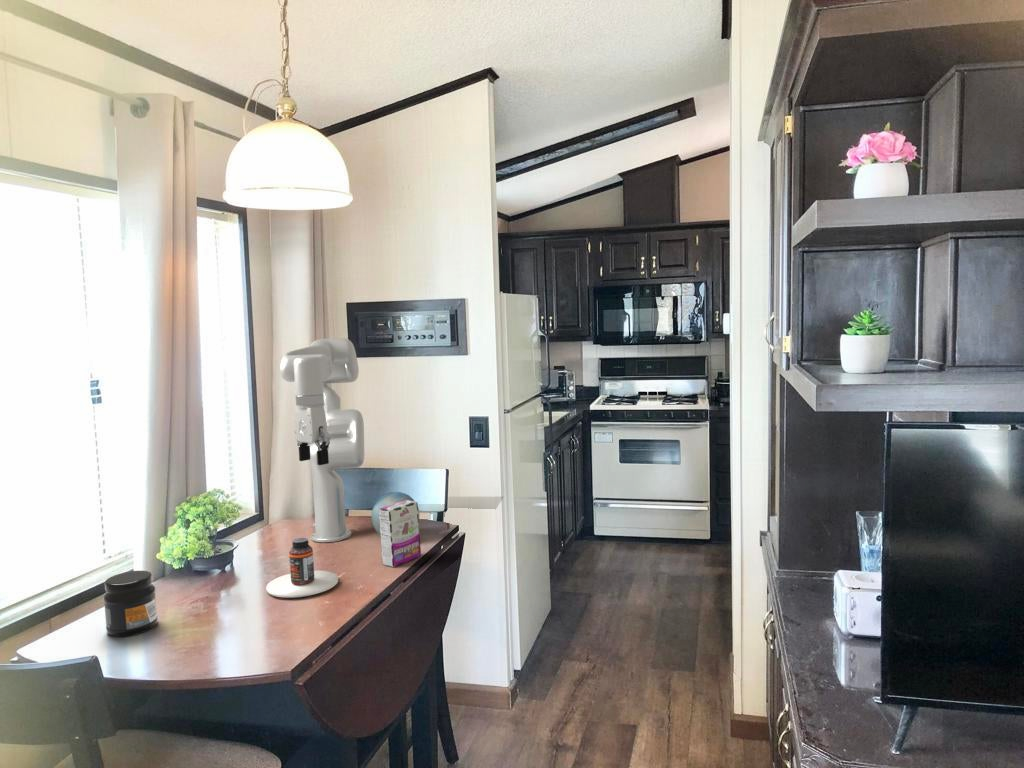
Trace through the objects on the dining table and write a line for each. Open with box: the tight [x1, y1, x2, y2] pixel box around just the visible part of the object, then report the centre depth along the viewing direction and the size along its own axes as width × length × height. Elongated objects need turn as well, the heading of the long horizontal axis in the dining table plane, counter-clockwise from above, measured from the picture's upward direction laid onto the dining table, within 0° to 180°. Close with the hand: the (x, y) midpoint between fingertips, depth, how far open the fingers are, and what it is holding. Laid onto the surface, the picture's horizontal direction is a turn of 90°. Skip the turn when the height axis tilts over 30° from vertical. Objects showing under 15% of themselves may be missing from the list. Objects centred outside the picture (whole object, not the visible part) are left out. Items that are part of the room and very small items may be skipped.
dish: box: [265, 569, 339, 599], centre depth 186 cm, size 18×18×1 cm
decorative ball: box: [371, 491, 421, 536], centre depth 225 cm, size 15×15×15 cm
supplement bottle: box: [288, 537, 315, 585], centre depth 186 cm, size 6×6×11 cm
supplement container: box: [102, 570, 159, 637], centre depth 163 cm, size 10×10×12 cm
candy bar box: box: [379, 500, 422, 568], centre depth 203 cm, size 11×5×16 cm, turn 143°
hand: (313, 462), depth 198 cm, fingers open, 9 cm apart
